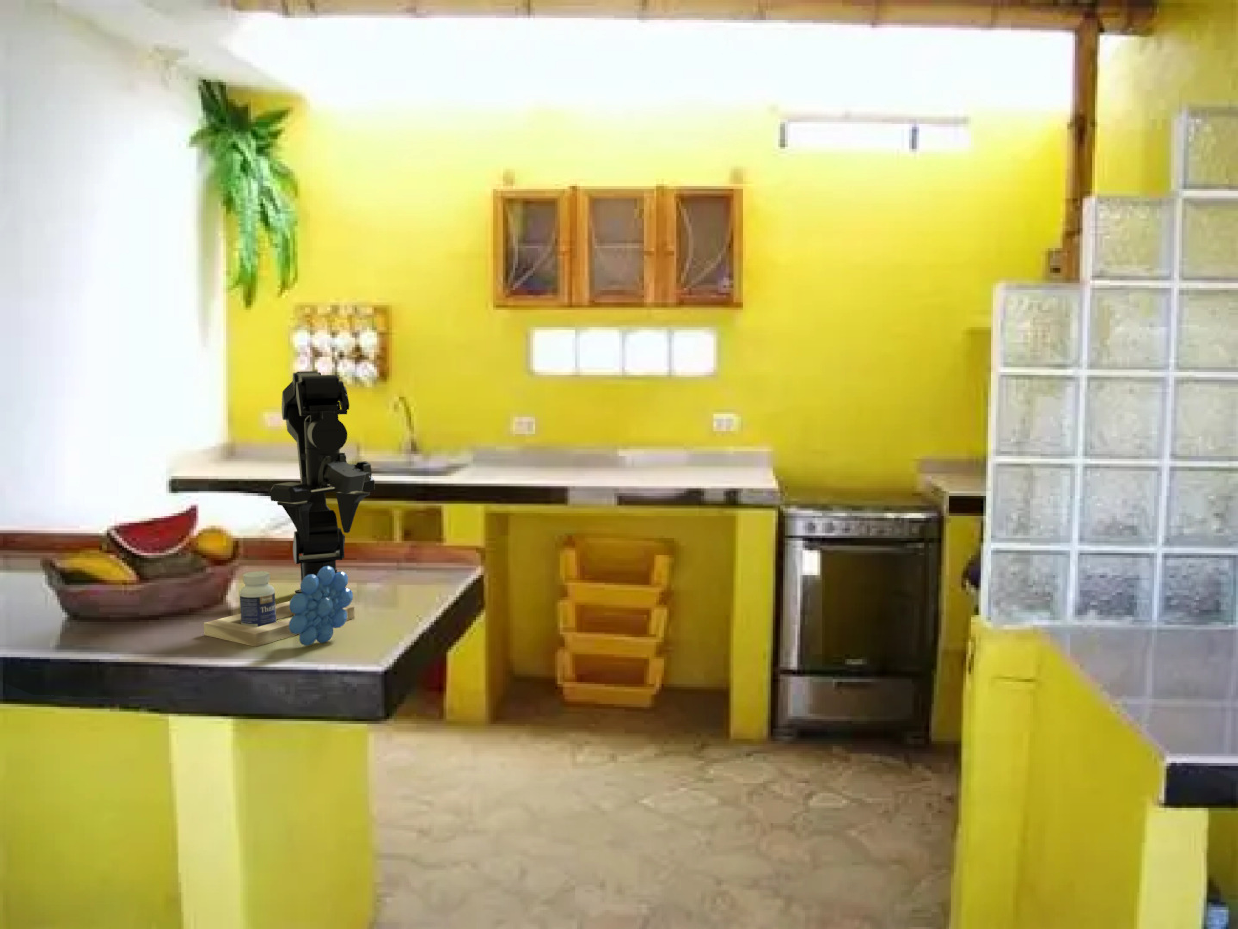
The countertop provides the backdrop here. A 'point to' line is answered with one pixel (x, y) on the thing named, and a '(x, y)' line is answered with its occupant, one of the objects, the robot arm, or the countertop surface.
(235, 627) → the wooden frame
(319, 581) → the blue ball flower
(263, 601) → the pill bottle
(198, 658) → the countertop surface
